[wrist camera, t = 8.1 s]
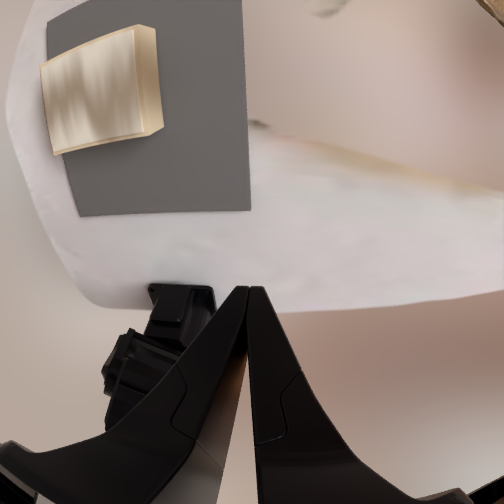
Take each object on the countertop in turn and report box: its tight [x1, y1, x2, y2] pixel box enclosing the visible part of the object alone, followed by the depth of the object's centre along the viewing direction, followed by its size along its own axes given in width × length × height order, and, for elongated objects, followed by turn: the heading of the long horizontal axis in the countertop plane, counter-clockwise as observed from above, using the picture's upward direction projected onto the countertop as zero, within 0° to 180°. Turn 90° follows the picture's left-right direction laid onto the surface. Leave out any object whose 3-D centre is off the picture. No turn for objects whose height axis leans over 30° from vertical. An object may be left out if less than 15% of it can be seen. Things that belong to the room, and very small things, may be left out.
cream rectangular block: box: [40, 24, 164, 155], centre depth 13 cm, size 7×3×8 cm
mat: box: [47, 0, 251, 217], centre depth 15 cm, size 18×15×1 cm
